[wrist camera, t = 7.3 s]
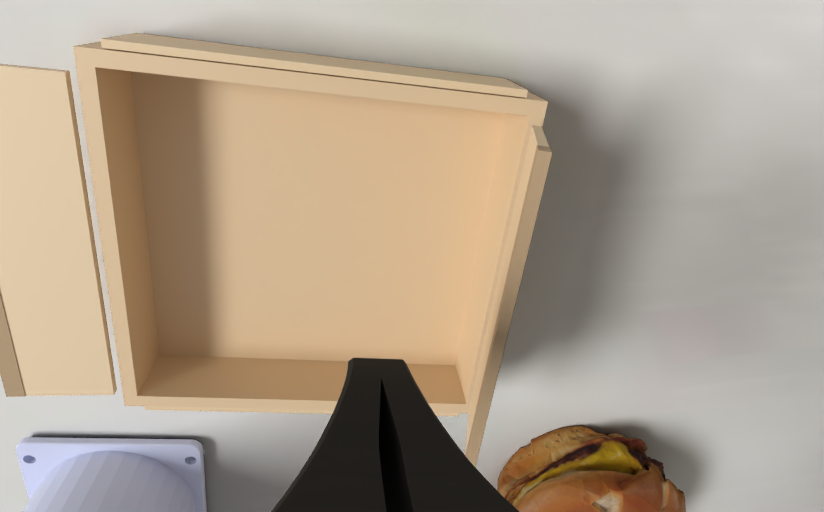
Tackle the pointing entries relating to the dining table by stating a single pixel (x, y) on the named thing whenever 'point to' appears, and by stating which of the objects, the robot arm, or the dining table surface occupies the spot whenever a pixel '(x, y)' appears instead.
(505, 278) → the flap
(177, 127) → the carton
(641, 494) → the burger
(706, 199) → the dining table surface
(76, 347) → the flap
